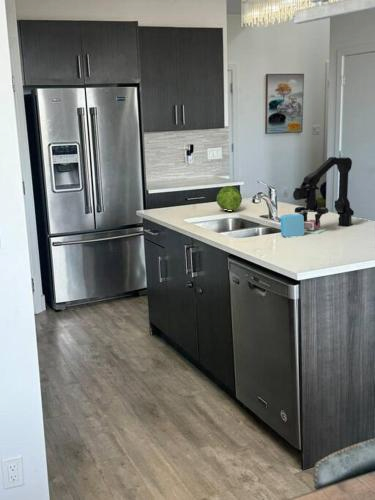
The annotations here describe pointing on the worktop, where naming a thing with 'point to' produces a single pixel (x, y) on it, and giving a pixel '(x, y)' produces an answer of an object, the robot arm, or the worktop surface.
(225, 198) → the lettuce
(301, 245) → the worktop surface
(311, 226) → the card deck
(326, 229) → the mat
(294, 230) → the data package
